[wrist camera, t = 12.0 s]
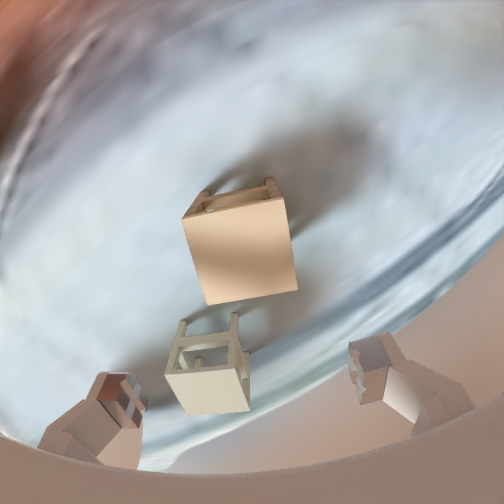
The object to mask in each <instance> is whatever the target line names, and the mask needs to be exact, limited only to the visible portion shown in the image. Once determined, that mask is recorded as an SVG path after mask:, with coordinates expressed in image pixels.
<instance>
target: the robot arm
mask: <svg viewBox="0 0 504 504" xmlns="http://www.w3.org/2000/svg"><path fill="white" fill-rule="evenodd" d="M348 350H349V353H350V355H351V356H350V357H349V359H348V366H349V373H350V377H351V380H352V383H354V384H356V394H357V397H358V400H359V403H360V405H363V404H367V403H371V402H375V401H379V400H383V401H384V402H385V403H387V404H388V405H389V406H391V407H392V408H393V409H395V410H396V411H398V412H399V413H400V414H402V415H403V416H404V417H406V418H407V419H408V420H410V421H411V422H413V423H414V427H413V429H412V431H411V434H410V436H409V438H408V439H405V440H402V441H400V442H396V443H394V444H391V445H388V446H384V447H381V448H378V449H375V450H372V451H368V452H364V453H361V454H357V455H353V456H349V457H345V458H341V459H337V460H332V461H328V462H323V463H318V464H312V465H307V466H301V467H295V468H288V469H280V470H272V471H262V472H251V473H234V474H176V473H175V474H174V473H161V472H150V471H140V470H132V469H125V468H118V467H112V466H106V465H104V464H103V463H102V462H101V461H100V460H99V459H97V458H96V457H97V456H98V455H99V454H100V453H101V452H102V450H103V449H104V448H105V447H106V446H107V445H108V444H109V443H110V442H111V440H112V439H113V438H114V437H115V436H116V435H117V434H118V433H119V431H120V430H121V428H129V429H139V427H140V423H141V420H142V417H143V416H142V414H141V411H142V410H143V409H144V408H145V406H146V402H147V398H146V392H145V390H144V388H143V387H142V385H140V384H138V383H137V377H136V376H135V374H134V373H133V372H100V373H99V374H98V375H97V377H96V379H95V381H94V383H93V385H92V387H91V389H90V391H89V394H88V396H87V398H86V400H82V401H80V402H79V403H78V404H76V405H75V406H74V407H73V408H71V409H70V410H69V411H67V412H66V413H65V414H64V415H62V416H61V417H60V418H58V419H57V420H56V421H54V422H53V423H52V424H51V425H49V426H48V427H47V428H46V430H45V433H44V435H43V437H42V439H41V441H40V443H39V445H38V448H35V447H32V446H30V445H27V444H24V443H21V442H18V441H16V440H13V439H11V438H8V437H6V436H3V435H1V434H0V504H504V392H503V393H501V394H500V395H498V396H496V397H494V398H493V399H491V400H489V401H488V402H486V403H484V404H482V405H480V406H479V407H477V408H476V407H475V406H474V404H473V402H472V401H471V399H470V397H469V396H468V394H467V393H466V391H465V389H464V388H463V386H462V385H461V383H459V382H457V381H454V380H452V379H450V378H448V377H446V376H444V375H442V374H440V373H437V372H435V371H433V370H431V369H429V368H427V367H425V366H423V365H420V364H419V363H416V362H414V361H412V360H406V358H405V357H404V355H403V353H402V352H401V350H400V348H399V347H398V345H397V343H396V342H395V340H394V338H393V337H392V335H391V333H389V332H385V333H382V334H378V335H375V336H371V337H367V338H364V339H360V340H356V341H352V342H349V349H348Z"/></svg>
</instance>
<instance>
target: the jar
mask: <svg viewBox="0 0 504 504" xmlns="http://www.w3.org/2000/svg"><path fill="white" fill-rule="evenodd" d="M144 412H145V408H144V409H143V410H142V411H141V414H142V415H143V413H144ZM142 433H143V423H142V420H141V423H140V427H139V429H129V428H121V430H120V431H119V433H118V434H117V435H116V436H115V437H114V438H113V439H112V440H111V442H110V443H109V444H108V445H107V446H106V447H105V448H104V449H103V450H102V452H101V453H100V454H99V455H98V456H97V457H96V458H97V459H99V460H100V461H101V462H102V463H103V464H104V465H106V466H112V467H118V468H125V469H132V470H136V469H137V467H138V464H139V460H140V456H141V448H142Z"/></svg>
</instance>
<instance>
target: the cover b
mask: <svg viewBox="0 0 504 504" xmlns="http://www.w3.org/2000/svg"><path fill="white" fill-rule="evenodd" d="M238 321H239V318H238V314H237V313H232V314H231V315H230V328H229V331H226V332H219V333H212V334H204V335H196V336H188V337H185V334H186V330H187V326H188V325H187V322H186V320H185V321H180V322H179V325H178V329H177V332H176V335H175V338H174V342H173V345H172V349H171V352H170V355H169V359H168V362H167V366H166V369H165V373H164V376H165V378H166V379H167V381H168V383H169V385H170V386H171V388H172V390H173V392H174V393H175V395H176V397H177V398H178V400H179V402H180V403H181V405H182V407H183V408H184V410H185V411H186V413H187V415H206V414H221V413H233V412H243V411H250V366H249V353H248V352H243V350H242V347H241V344H240V341H239V337H238ZM225 346H228V355H227V364H226V365H217V366H208V367H202V363H203V361H202V359H201V358H195V363H194V365H193V363H192V361H191V359H190V357H189V354H188V352H187V351H192V350H201V349H209V348H217V347H225ZM178 361H179V363H180V365H181V367H182V369H177V365H178ZM237 367H238V370H239V371H237Z"/></svg>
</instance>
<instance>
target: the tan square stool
mask: <svg viewBox="0 0 504 504" xmlns="http://www.w3.org/2000/svg"><path fill="white" fill-rule="evenodd" d="M265 183H266V185H264V186H258V187H253V188H248V189H243V190H238V191H233V192H228V193H224V194H219V195H214V196H210V195H209V191H208V190H207V191H202V192H200V193H199V195H198V196H197V198H196V199H195V200H194V202H193V203H192V205H191V206H190V208H189V209H188V210H187V212H186V213H185V215H184V216H183V218H182V219H181V221H182V225H183V228H184V232H185V235H186V239H187V242H188V245H189V249H190V252H191V255H192V259H193V262H194V265H195V269H196V272H197V275H198V278H199V281H200V285H201V288H202V291H203V294H204V297H205V300H206V303H207V305H213V304H219V303H226V302H232V301H238V300H244V299H249V298H255V297H261V296H267V295H272V294H278V293H283V292H288V291H294V290H298V287H297V280H296V273H295V266H294V259H293V253H292V246H291V240H290V234H289V227H288V221H287V215H286V209H285V203H284V198H283V196H282V194H281V192H280V190H279V189H278V187H277V185H276V183H275V181H274V179H273V177H271V178H266V179H265ZM266 198H269V199H268V200H262V201H257V202H252V203H247V204H242V205H237V206H232V207H227V208H222V209H217V210H212V211H208V212H207V210H211V209H215V208H220V207H225V206H230V205H235V204H240V203H245V202H250V201H255V200H260V199H266Z"/></svg>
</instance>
